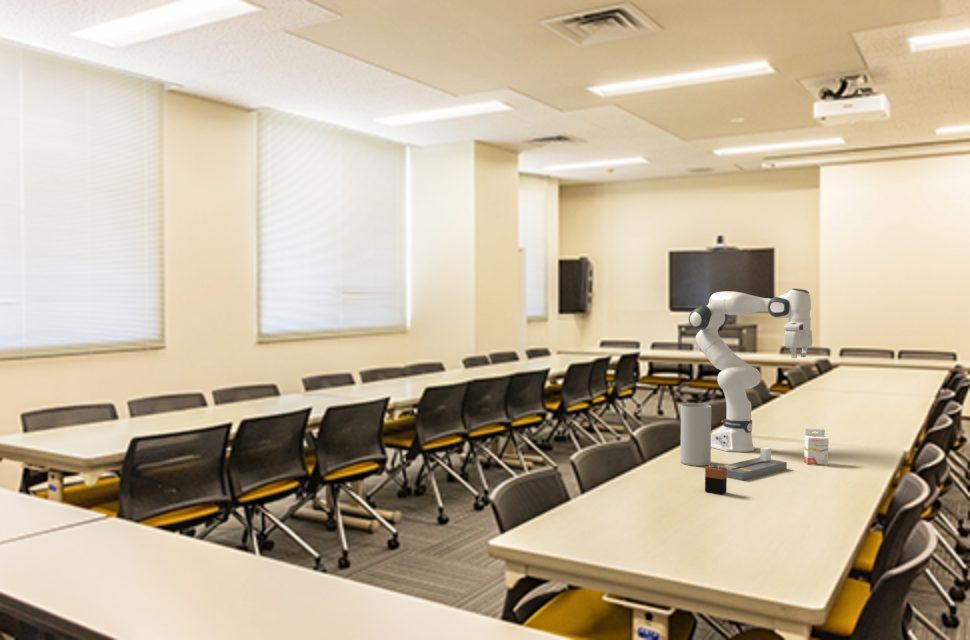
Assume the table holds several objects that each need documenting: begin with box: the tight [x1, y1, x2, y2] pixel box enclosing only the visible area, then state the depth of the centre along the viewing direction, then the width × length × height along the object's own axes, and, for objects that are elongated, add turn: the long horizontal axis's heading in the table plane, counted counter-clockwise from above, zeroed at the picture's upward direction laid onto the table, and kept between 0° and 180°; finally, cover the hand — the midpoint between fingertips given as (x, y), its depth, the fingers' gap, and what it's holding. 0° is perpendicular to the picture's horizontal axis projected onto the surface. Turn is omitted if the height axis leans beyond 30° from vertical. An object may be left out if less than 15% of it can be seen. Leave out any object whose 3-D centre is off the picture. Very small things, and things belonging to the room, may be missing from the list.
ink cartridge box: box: [803, 428, 829, 465], centre depth 319 cm, size 9×5×15 cm, turn 84°
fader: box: [759, 446, 772, 463], centre depth 309 cm, size 2×4×7 cm, turn 128°
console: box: [722, 457, 788, 482], centre depth 303 cm, size 12×32×3 cm, turn 128°
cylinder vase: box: [680, 402, 712, 467], centre depth 319 cm, size 12×12×25 cm
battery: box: [704, 464, 728, 495], centre depth 271 cm, size 4×7×10 cm, turn 54°
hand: (798, 357), depth 322 cm, fingers open, 8 cm apart
